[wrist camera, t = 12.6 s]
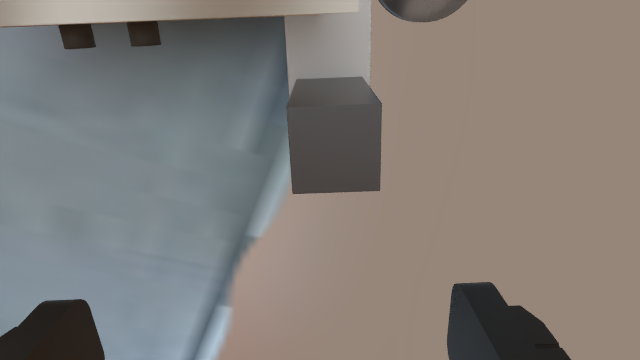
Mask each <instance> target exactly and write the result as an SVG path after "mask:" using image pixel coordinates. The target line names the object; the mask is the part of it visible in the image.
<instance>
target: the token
mask: <svg viewBox="0 0 640 360" xmlns="http://www.w3.org/2000/svg"><path fill="white" fill-rule="evenodd" d="M466 1H467V0H379V2H380V3H381V5H382V6H383V7H384V8H385V9H386V10H387V11H388V12H390V13H391V14H392V15H394V16H396V17H398V18H400V19H402V20H406V21H413V22H431V21H436V20H439V19H442V18H444V17H447V16H449V15H450V14H452V13H453V12H455V11H456V10H458V9H459V8H460V7H461V6H462V5H463V4H464V3H465V2H466Z"/></svg>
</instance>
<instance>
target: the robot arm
mask: <svg viewBox="0 0 640 360" xmlns="http://www.w3.org/2000/svg"><path fill="white" fill-rule="evenodd" d="M447 348H448V355H449V360H571V359H570V358H569V356H568V355H567V354H566V352H565V351H564V350H563V349H562V348H560V347H559V343H558V342H557V340H556V339H555V338H554V336H553V335H552V334H551V333H550V331H549V330H548V329H547V327H546V326H545V324H544V323H543V322H542V321H540V320H539V319H538V318H536V317H535V316H534V315H532V314H531V313H529V312H528V311H527V310H525V309H524V308H523V307H521V306H508V305H507V303H506V302H505V300H504V299H503V298H502V296H501V295H500V293H499V292H498V290H497V289H496V287H495V286H494V285H493V284H492V283H491V282H481V283H460V284H454V286H453V289H452V296H451V305H450V315H449V325H448V335H447ZM0 360H105V357H104V351H103V348H102V345H101V342H100V338H99V335H98V332H97V329H96V326H95V323H94V320H93V316H92V313H91V310H90V307H89V305H88V303H87V302H86V301H85V300H82V299H76V300H54V301H44V302H42V303H41V304H39V305H38V306H37V307H36V308H35V309H34V310H33V311H32V312H31V313H30V314H29V316H28V317H27V318H26V319H25V320H24V321H23V322H22V323H21V324H20V325H19V326H18V327H14V328H13V329H11V330H10V331H8V332H7V333H5V334H4V335H2V336H1V337H0Z"/></svg>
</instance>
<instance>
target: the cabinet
mask: <svg viewBox="0 0 640 360" xmlns="http://www.w3.org/2000/svg"><path fill="white" fill-rule="evenodd" d="M355 12H359V0H0V27H25V26H50V25H59V29H60V33H61V37H62V41H63V44H64V48H65V49H80V48H92V47H96V45H95V41H94V36H93V32H92V28H91V24H101V23H126V22H127V26H128V31H129V36H130V41H131V46H153V45H161V41H160V35H159V29H158V24H157V21H176V20H202V19H227V18H252V17H277V16H303V15H317V14H329V13H355Z"/></svg>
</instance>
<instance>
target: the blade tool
mask: <svg viewBox="0 0 640 360" xmlns="http://www.w3.org/2000/svg"><path fill="white" fill-rule="evenodd" d="M284 23H285V38H286V53H287V69H288V84H289V102H288V105H287V119H288V134H289V148H290V163H291V178H292V192H293V194H304V193H331V192H332V193H333V192H358V191H359V192H361V191H380V166H381V162H380V161H381V117H382V116H381V115H382V103H381V102H380V100H379V99H378V98H377V96H376V95H375V94H374V92H373V91H372V89H371V88H370V61H371V60H370V59H371V58H370V55H371V49H370V48H371V0H359V12H355V13H329V14H317V15H303V16H284Z"/></svg>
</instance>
